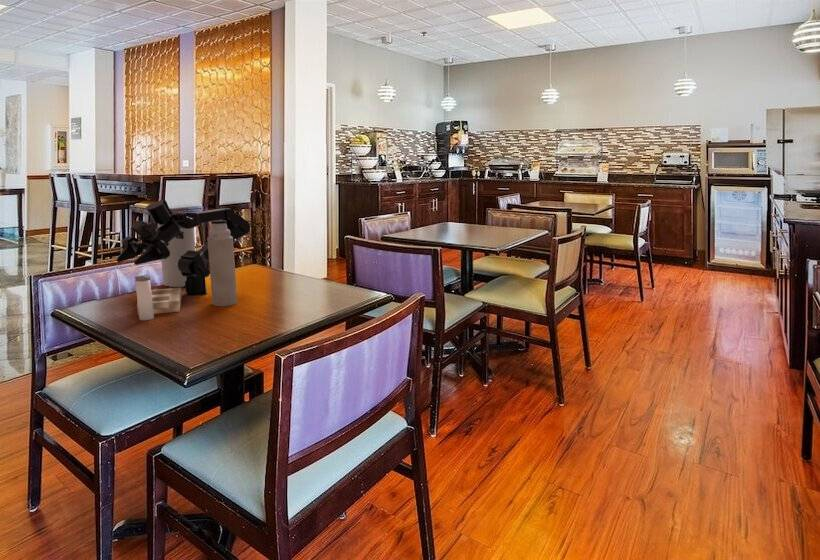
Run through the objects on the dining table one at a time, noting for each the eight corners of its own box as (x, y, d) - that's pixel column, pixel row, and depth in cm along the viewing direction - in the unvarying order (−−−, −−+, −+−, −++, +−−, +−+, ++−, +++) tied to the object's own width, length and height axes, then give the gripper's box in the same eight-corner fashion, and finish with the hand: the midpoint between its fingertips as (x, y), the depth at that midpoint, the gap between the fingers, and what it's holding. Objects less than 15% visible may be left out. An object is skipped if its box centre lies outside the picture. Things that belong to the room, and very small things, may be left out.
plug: (154, 316, 167) (150, 274, 164) (153, 319, 164) (149, 277, 161) (140, 317, 166) (135, 275, 163) (138, 320, 162) (134, 278, 159)
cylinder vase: (201, 280, 218) (196, 218, 213) (193, 287, 206) (187, 221, 201) (169, 281, 217) (163, 218, 211) (159, 288, 205) (152, 222, 199)
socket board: (181, 297, 191) (180, 283, 190) (179, 311, 172) (178, 296, 171) (144, 300, 187) (142, 286, 186) (137, 315, 168) (136, 299, 167)
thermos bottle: (222, 299, 188) (216, 218, 182) (242, 301, 185) (236, 219, 179) (207, 305, 180) (200, 221, 174) (227, 307, 178) (221, 221, 172)
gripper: (133, 213, 182) (94, 239, 172) (169, 216, 173) (130, 243, 163) (150, 241, 189) (113, 267, 179) (185, 244, 180) (149, 272, 169)
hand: (126, 262), depth 172 cm, fingers open, 9 cm apart
